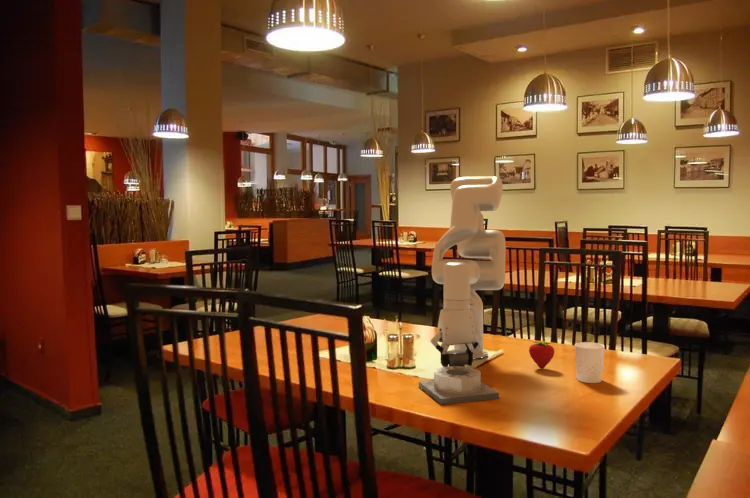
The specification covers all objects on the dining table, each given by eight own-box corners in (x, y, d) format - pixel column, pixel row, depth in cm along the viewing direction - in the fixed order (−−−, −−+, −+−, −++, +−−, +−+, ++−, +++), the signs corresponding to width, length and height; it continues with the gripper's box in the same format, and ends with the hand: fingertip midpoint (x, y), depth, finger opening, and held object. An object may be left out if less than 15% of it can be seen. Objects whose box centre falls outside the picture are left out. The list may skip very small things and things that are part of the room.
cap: (441, 374, 176) (441, 351, 175) (462, 372, 178) (462, 349, 177) (450, 380, 169) (450, 356, 169) (472, 378, 171) (472, 354, 171)
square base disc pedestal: (418, 386, 164) (418, 367, 163) (472, 381, 168) (471, 362, 168) (441, 404, 148) (441, 383, 148) (499, 398, 153) (499, 377, 153)
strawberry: (529, 365, 185) (529, 333, 185) (554, 366, 183) (555, 334, 182) (527, 369, 180) (528, 337, 179) (553, 371, 177) (554, 338, 176)
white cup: (569, 380, 168) (570, 345, 168) (581, 374, 174) (581, 340, 173) (597, 385, 163) (597, 349, 162) (608, 379, 169) (609, 344, 168)
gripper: (478, 301, 178) (478, 360, 179) (423, 304, 173) (424, 365, 174) (489, 305, 171) (489, 366, 172) (433, 308, 166) (433, 371, 167)
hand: (456, 365), depth 173 cm, fingers closed on cap, 6 cm apart
